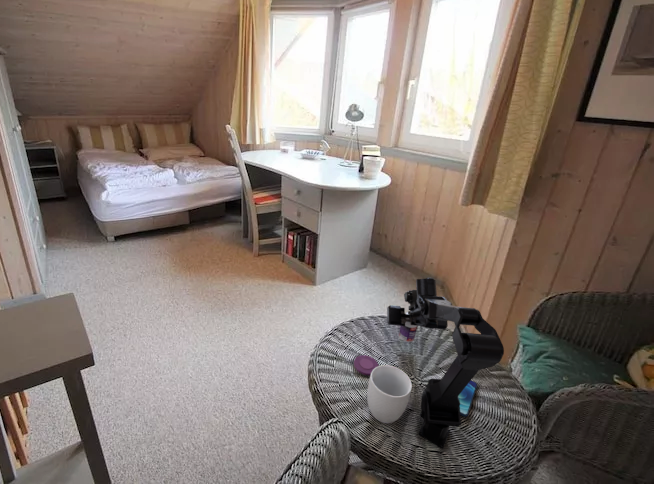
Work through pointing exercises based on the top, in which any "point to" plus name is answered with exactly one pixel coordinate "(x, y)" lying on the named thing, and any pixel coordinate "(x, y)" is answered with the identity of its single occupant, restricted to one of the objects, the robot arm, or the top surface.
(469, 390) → the smartphone
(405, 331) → the pill bottle
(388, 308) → the robot arm
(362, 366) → the plum saucer
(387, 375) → the mug
